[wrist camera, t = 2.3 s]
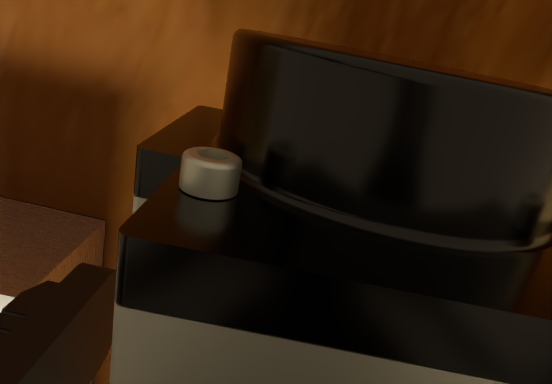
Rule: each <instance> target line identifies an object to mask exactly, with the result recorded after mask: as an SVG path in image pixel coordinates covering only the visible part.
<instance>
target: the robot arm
mask: <svg viewBox="0 0 552 384" xmlns="http://www.w3.org/2000/svg"><path fill="white" fill-rule="evenodd" d="M115 286H116V270H113V269H109V268H105V267H100V266H96V265H92V264H88V263H80V264H78V265H77V266H76V267H75V268H74V269H73V270H72V271H71V272H70V273H69V274H68V275H67V276H66V277H65V278H64V279H63V280H62V281H61V282H60V283H58V282H54V281H49V280H47V281H45V282H43V283H41V284H38V285H36V286H34V287H32V288H29V289H27V290H25V291H23V292H21V293H20V294H19V295H18V296H16V297H15V298H14V299H13V300H12V301H11V302H10V303H8V304H7V305H6V306H5V307H4V308H3V309H2V311H1V313H0V384H89V383H90V382H91V380H92V378H93V377H94V375H95V374H96V372H97V371H98V369H99V368H100V366H101V365H102V363H103V361H104V360H105V358H106V356H107V353H108V351H109V349H110V346H111V343H112V334H113V318H114V302H115Z"/></svg>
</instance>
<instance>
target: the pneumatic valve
mask: <svg viewBox="0 0 552 384" xmlns="http://www.w3.org/2000/svg"><path fill="white" fill-rule="evenodd" d="M109 384H552V89H548V88H543V87H538V86H534V85H529V84H524V83H520V82H515V81H510V80H506V79H501V78H496V77H491V76H486V75H482V74H477V73H472V72H467V71H462V70H457V69H453V68H448V67H443V66H438V65H433V64H428V63H423V62H418V61H413V60H408V59H403V58H398V57H393V56H388V55H383V54H378V53H373V52H368V51H363V50H358V49H352V48H347V47H342V46H337V45H332V44H327V43H321V42H316V41H311V40H306V39H300V38H295V37H290V36H284V35H279V34H273V33H267V32H262V31H255V30H249V29H239V30H237V31H236V32H235V33H234V35H233V39H232V47H231V54H230V61H229V69H228V76H227V83H226V90H225V97H224V104H223V110H222V109H217V108H212V107H206V106H197V107H195V108H194V109H192V110H191V111H189V112H188V113H186V114H185V115H183V116H181V117H180V118H178V119H177V120H175V121H174V122H172V123H171V124H169V125H168V126H166V127H165V128H163V129H162V130H160V131H159V132H157V133H155V134H154V135H152V136H151V137H149V138H148V139H146V140H145V141H143V142H142V143H140V144H139V145H137V154H136V168H135V182H134V195H133V209H132V215H131V217H130V218H129V219H128V220H127V221H126V222H125V223H124V224H123V225H122V226H121V227H120V228H119V238H118V254H117V270H116V286H115V302H114V318H113V334H112V350H111V366H110V382H109Z"/></svg>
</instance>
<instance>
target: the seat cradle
mask: <svg viewBox="0 0 552 384" xmlns="http://www.w3.org/2000/svg"><path fill="white" fill-rule="evenodd" d="M105 226H106V221H105V220H100V219H96V218H91V217H87V216H83V215H78V214H74V213H69V212H65V211H60V210H56V209H52V208H47V207H43V206H38V205H34V204H30V203H25V202H21V201H16V200H12V199H7V198H3V197H0V313H1V311H2V309H3V308H4V307H5V306H6V305H7V304H8V303H10V302H11V301H12V300H13V299H14V298H15V297H16V296H18V295H19V294H20V293H21V292H23V291H25V290H27V289H29V288H32V287H34V286H36V285H38V284H41V283H43V282H45V281H47V280H49V281H54V282H58V283H60V282H61V281H62V280H63V279H64V278H65V277H66V276H67V275H68V274H69V273H70V272H71V271H72V270H73V269H74V268H75V267H76V266H77V265H78V264H80V263H88V264H92V265H96V266H100V267H102V261H103V249H104V237H105ZM92 380H93V378H92ZM92 380H91V382H90V383H89V384H92Z"/></svg>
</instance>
